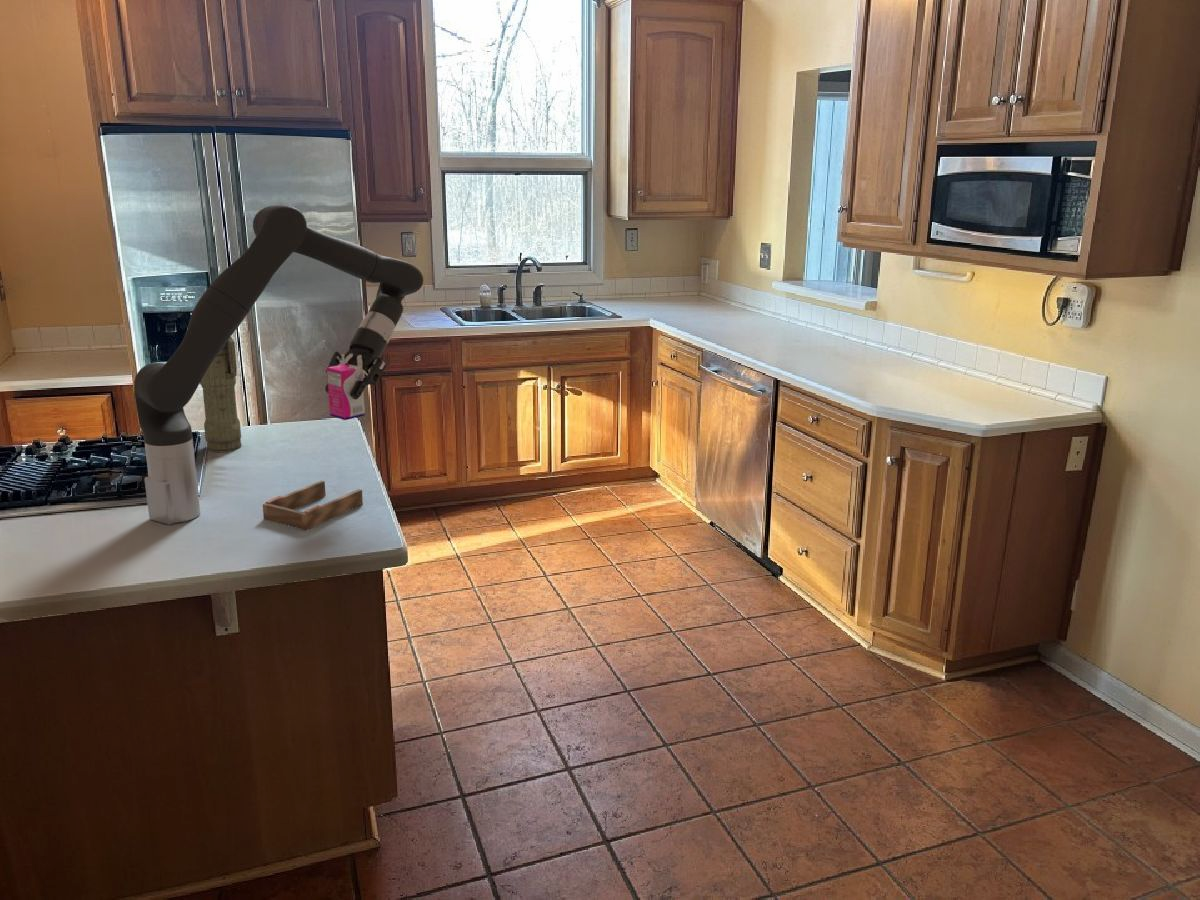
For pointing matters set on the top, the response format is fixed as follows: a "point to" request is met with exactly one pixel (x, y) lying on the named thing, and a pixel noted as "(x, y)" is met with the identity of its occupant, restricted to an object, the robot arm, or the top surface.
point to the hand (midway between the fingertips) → (341, 395)
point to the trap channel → (284, 505)
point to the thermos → (221, 402)
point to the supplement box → (344, 392)
